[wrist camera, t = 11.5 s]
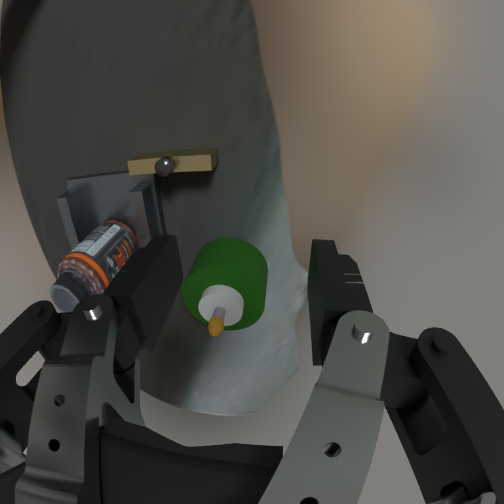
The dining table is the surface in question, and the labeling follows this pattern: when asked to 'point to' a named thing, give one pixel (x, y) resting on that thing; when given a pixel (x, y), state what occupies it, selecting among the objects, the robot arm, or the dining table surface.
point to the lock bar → (174, 161)
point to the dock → (112, 205)
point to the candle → (226, 285)
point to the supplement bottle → (93, 264)
